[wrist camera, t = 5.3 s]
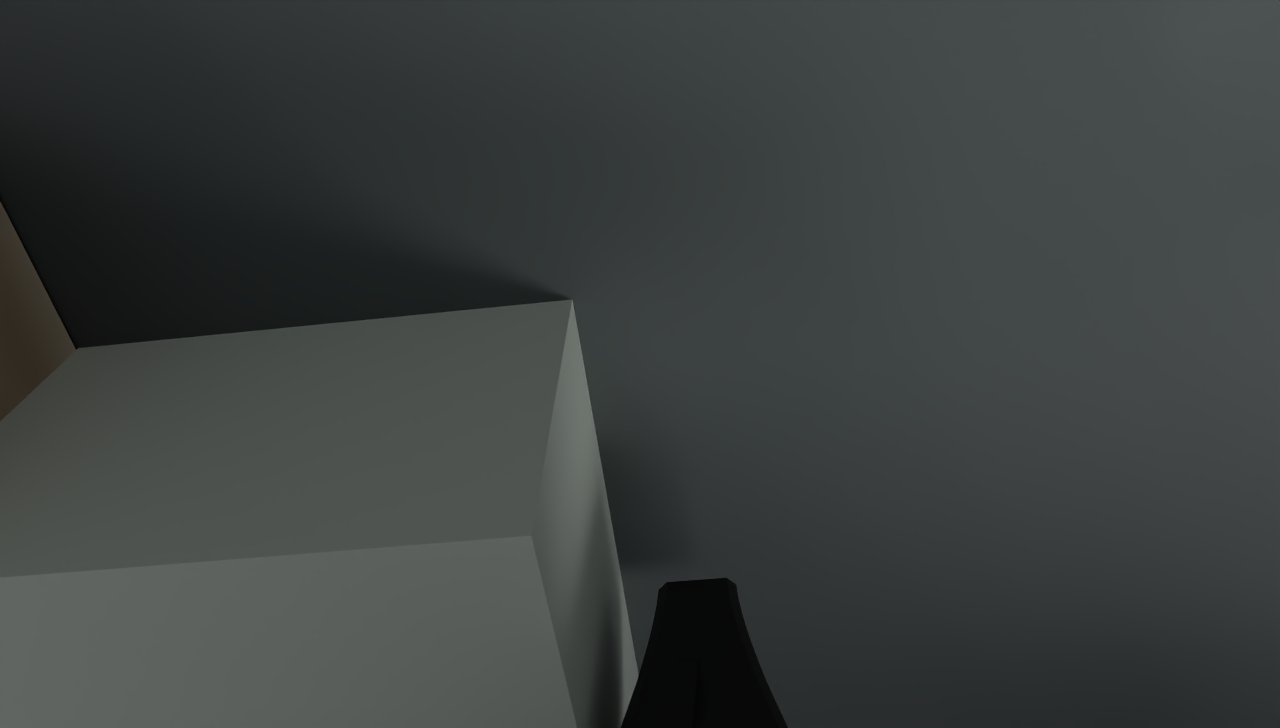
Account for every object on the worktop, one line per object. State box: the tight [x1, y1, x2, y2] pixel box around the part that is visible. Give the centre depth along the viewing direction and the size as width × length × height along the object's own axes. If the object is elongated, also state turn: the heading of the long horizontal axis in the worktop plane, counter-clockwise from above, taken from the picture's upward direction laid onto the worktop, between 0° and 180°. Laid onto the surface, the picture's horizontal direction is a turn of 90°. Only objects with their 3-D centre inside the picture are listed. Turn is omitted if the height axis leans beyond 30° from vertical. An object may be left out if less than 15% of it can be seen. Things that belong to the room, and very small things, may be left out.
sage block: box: [0, 300, 639, 728], centre depth 11 cm, size 6×8×4 cm
